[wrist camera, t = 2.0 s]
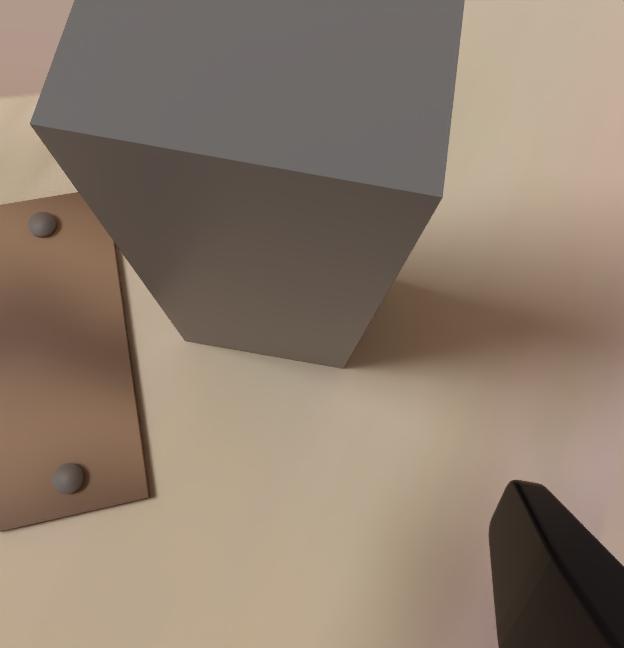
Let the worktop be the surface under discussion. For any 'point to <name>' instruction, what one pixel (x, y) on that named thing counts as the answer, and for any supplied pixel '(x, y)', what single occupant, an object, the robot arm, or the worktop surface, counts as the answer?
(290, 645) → the worktop surface
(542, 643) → the robot arm
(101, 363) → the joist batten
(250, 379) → the worktop surface
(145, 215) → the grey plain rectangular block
